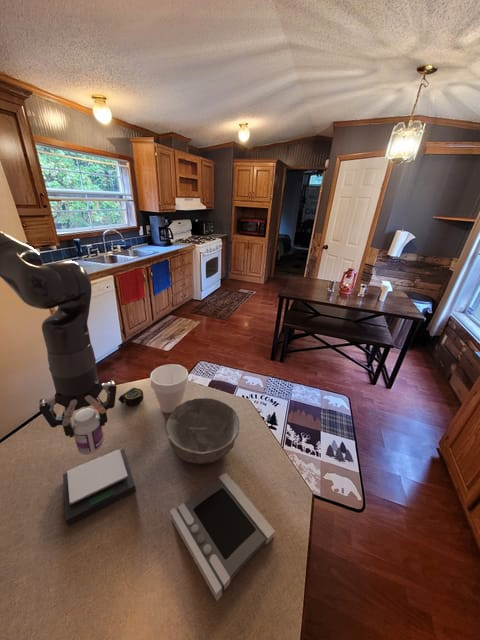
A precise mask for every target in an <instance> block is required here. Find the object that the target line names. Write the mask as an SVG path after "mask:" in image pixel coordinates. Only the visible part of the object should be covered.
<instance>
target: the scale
mask: <svg viewBox="0 0 480 640" xmlns="http://www.w3.org/2000/svg"><path fill="white" fill-rule="evenodd" d="M62 481H63V482H62V483H63V496H64V513H65V522H66V524H67V528H68V527H71V526H73V525H75V524H77V523H79V522H81V521H83V520H84V519H86V518H88V517H91V516H92V515H95V514H96V513H98V512H100V511H102V510H103V509H104V510H105V508H108V507H109V506H112V505H113V504H115V503H117V502H120V501H121V500H123V499H125V498H127V497H129V496H131V495H133V494H134V493H136V492H137V490H136V489H137V488H136V485H135V481H134V477H133V474H132V471H131V467H130V465H129V461H128V458H127V455H126V452H125V448H122V449H120V448H119V449H116V450H114V451H111V452H108V453H106V454H104V455H102V456H98V457H97V458H94V459H92V460H90V461H87V462H85V463H82V464H80V465H77V466H75V467H72V468H70V469H68V470H66V473H63V474H62Z"/></svg>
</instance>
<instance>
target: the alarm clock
mask: <svg viewBox="0 0 480 640" xmlns="http://www.w3.org/2000/svg"><path fill="white" fill-rule="evenodd" d="M169 514H170V519H171V522H172V524H173V525H174V527H175V529H176V531H177V533H178V534H179V537H180V538H181V539H182V541H183V543H184V545H185V547H186V549H187V548H188V549H187V551H188V552H189V554H190V556H191V557H193V558H192V559H193V561H194V564H195V565H196V567H197V566H198V567H197V568H198V571H199V572H200V574H201V576H202V577H203V580H204V581H205V583H206V585H207V586H208V588H209V590H210V592H211V594H212V596H213V598H214V599H215V601H216V602H218V601H219V600H220V599H221V597H222V596H223V591H225V590H226V589H227V588H228V586H229V585H230V584H231V582H232V580H234V578H235V576H237V574H238V573H239V572H240V571H241V569H243V568H244V566H245V565H246V564H247V563H248V562H249V560H250V559H251V558H252V557H253V556H254V555H255V554H256V553H257V552H258V551H259V550H260V549H261V548H262V547H263V546H264V545H267V544H269V542H270V541H271V540H272V539H273V538H274V536H275V534H276V530H275V529H274V528H273V526H272V525H271V523H269V521H268V520H267V518H266V517H265V515H264V514H263V513H262V512H261V510H260V509H259V508H258V507H257V505H256V504H255V503H254V502H253V501H252V500H251V498H250V497H249V496H248V495H247V494H246V493H245V491H243V489H242V488H241V487H240V485H238V483H237V482H236V481H234V480H233V479H232V478H231V477H230V475H229V473H227V472H225V473H223V474H221V475H220V476H218V479H217V480H215V481H213V482H211V483H210V484H208V485H206V486H205V487H203V488H202V489H201V490H200V491H198V492H196V493H195V494H194V495H193V496H191V497H190V498H189V499H187V500H186V501H184V502H182V503H180V505H178V506H177V507H173V508H172V509H170V510H169Z"/></svg>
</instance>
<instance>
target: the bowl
mask: <svg viewBox="0 0 480 640" xmlns="http://www.w3.org/2000/svg"><path fill="white" fill-rule="evenodd" d="M239 431H240V419H239V415H238V414H237V412H236V410H235V409H234V408H233V407H232V406H231V405H229V404H227V403H226V402H224V401H222V400H218V399H215V398H212V397H198V398H193V399H188V400H185V401H183V402H182V403H181V405H179V406H178V407H176V408H175V409H174V411H172V413H170V415H169V416H168V419H167V420H166V423H165V432H166V435H167V437H168V440H169V444H170V447H171V448H172V450H173V452H174V454H176V455H177V456H178V458H180V459H181V460H183V461H185V462H187V463H192V464H211V463H214V462H216V461H219V460H221V459H223V458H224V457H225V456H226V455H227V454H228V453H229V452H230V451H231V450H232V449H233V447H234V445H235V441H236V439H237V437H238V435H239Z"/></svg>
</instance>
